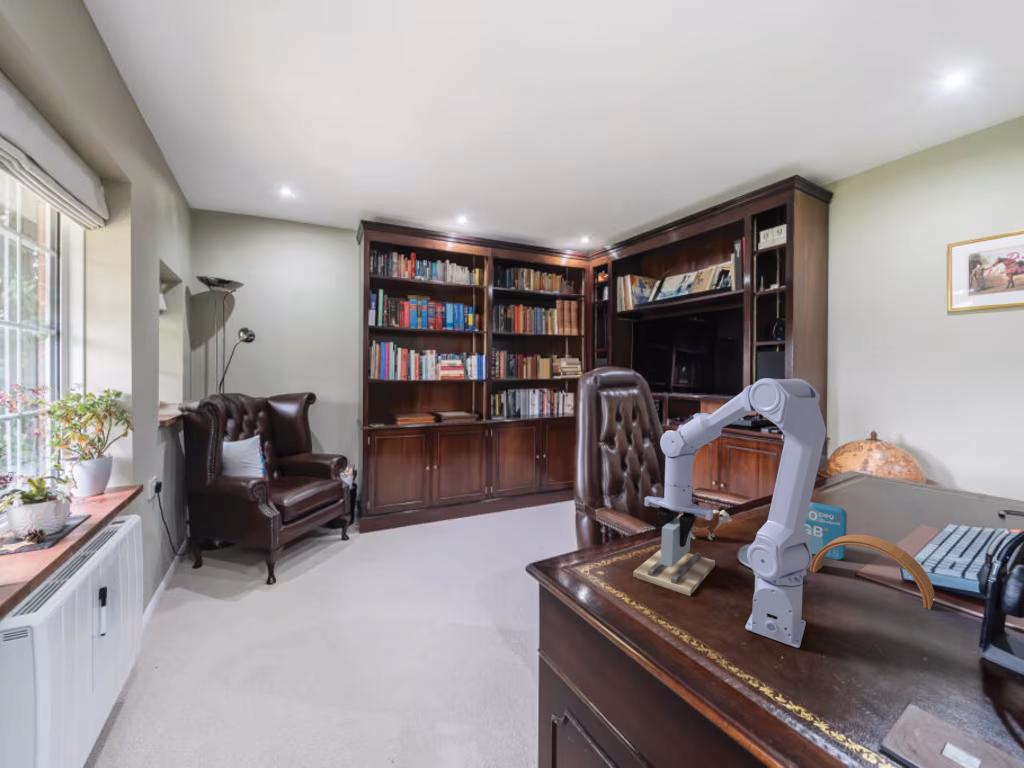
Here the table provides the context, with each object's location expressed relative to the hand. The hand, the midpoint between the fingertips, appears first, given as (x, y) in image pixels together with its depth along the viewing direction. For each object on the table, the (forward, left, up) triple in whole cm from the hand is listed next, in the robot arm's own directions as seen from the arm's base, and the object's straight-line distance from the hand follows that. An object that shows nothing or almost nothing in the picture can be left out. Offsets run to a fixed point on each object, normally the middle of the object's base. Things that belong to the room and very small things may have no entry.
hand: (676, 543), depth 97 cm
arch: (+22, -34, -7) cm, 41 cm away
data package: (+35, -23, -6) cm, 42 cm away
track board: (0, 0, -6) cm, 6 cm away
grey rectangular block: (0, 0, -3) cm, 3 cm away
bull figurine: (+25, +1, -6) cm, 26 cm away
